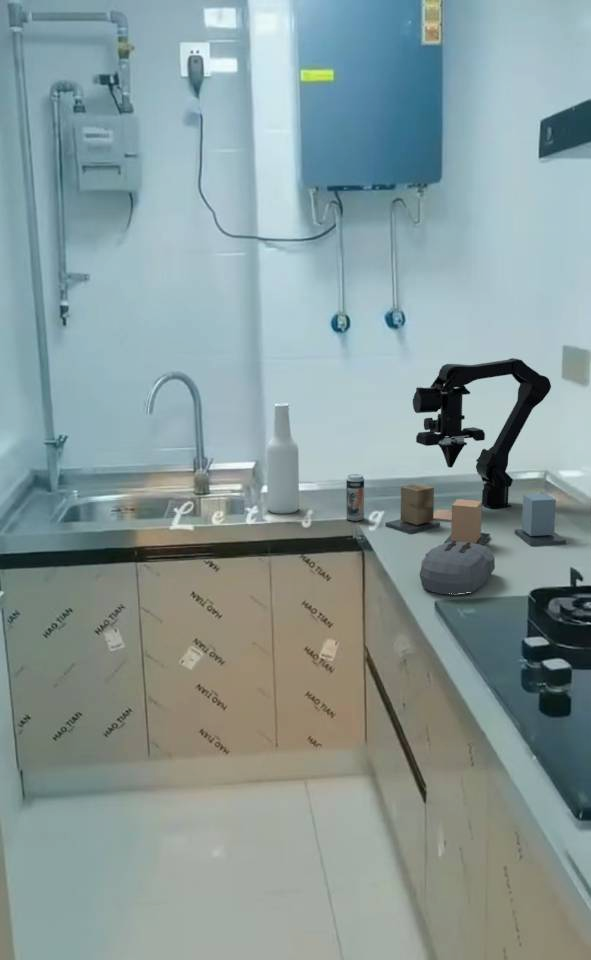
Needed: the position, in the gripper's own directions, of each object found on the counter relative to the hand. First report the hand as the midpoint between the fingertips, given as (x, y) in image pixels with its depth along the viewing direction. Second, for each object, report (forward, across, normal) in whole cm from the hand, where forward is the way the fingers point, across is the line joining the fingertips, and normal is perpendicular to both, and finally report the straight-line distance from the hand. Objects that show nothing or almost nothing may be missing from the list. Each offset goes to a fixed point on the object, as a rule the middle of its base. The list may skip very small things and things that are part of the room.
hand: (449, 467), depth 258 cm
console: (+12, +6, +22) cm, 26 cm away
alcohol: (+12, +42, -19) cm, 48 cm away
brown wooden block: (+11, +16, +10) cm, 22 cm away
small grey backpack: (+12, +30, +52) cm, 61 cm away
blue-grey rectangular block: (+11, -6, +32) cm, 34 cm away
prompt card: (+12, +4, +7) cm, 14 cm away
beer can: (+12, +28, -2) cm, 31 cm away
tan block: (+11, +13, +29) cm, 34 cm away
